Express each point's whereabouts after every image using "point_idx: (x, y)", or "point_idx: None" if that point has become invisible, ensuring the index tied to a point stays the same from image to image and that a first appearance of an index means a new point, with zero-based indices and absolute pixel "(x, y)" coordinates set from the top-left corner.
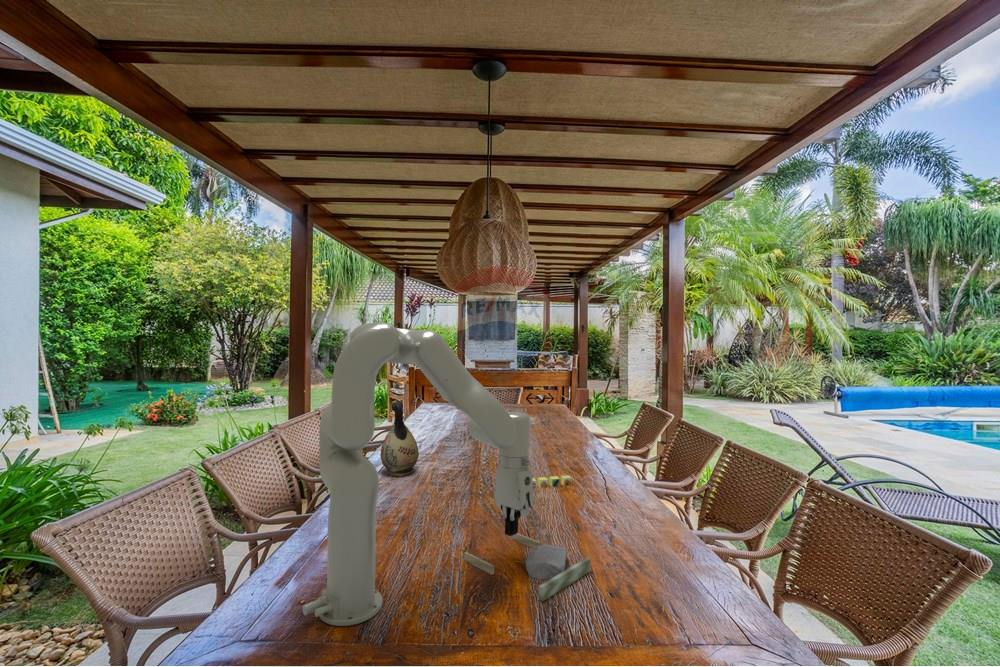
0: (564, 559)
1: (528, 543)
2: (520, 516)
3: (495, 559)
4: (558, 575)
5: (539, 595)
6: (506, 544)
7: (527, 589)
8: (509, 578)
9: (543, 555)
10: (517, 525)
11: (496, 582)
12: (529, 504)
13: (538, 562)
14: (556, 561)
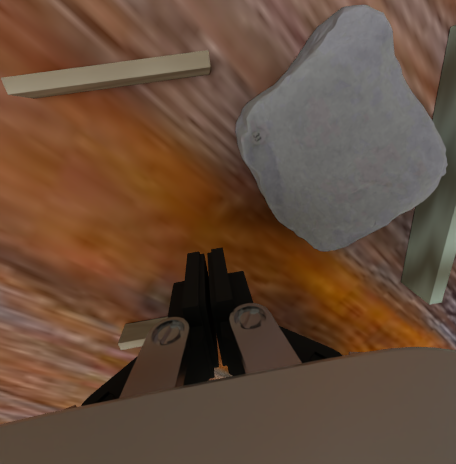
0: (440, 139)
1: (140, 80)
2: (293, 335)
3: (170, 259)
4: (453, 228)
5: (411, 288)
6: (78, 157)
7: (353, 277)
8: (285, 284)
9: (343, 179)
10: (248, 291)
11: (277, 316)
12: (436, 375)
13: (361, 232)
14: (427, 187)
